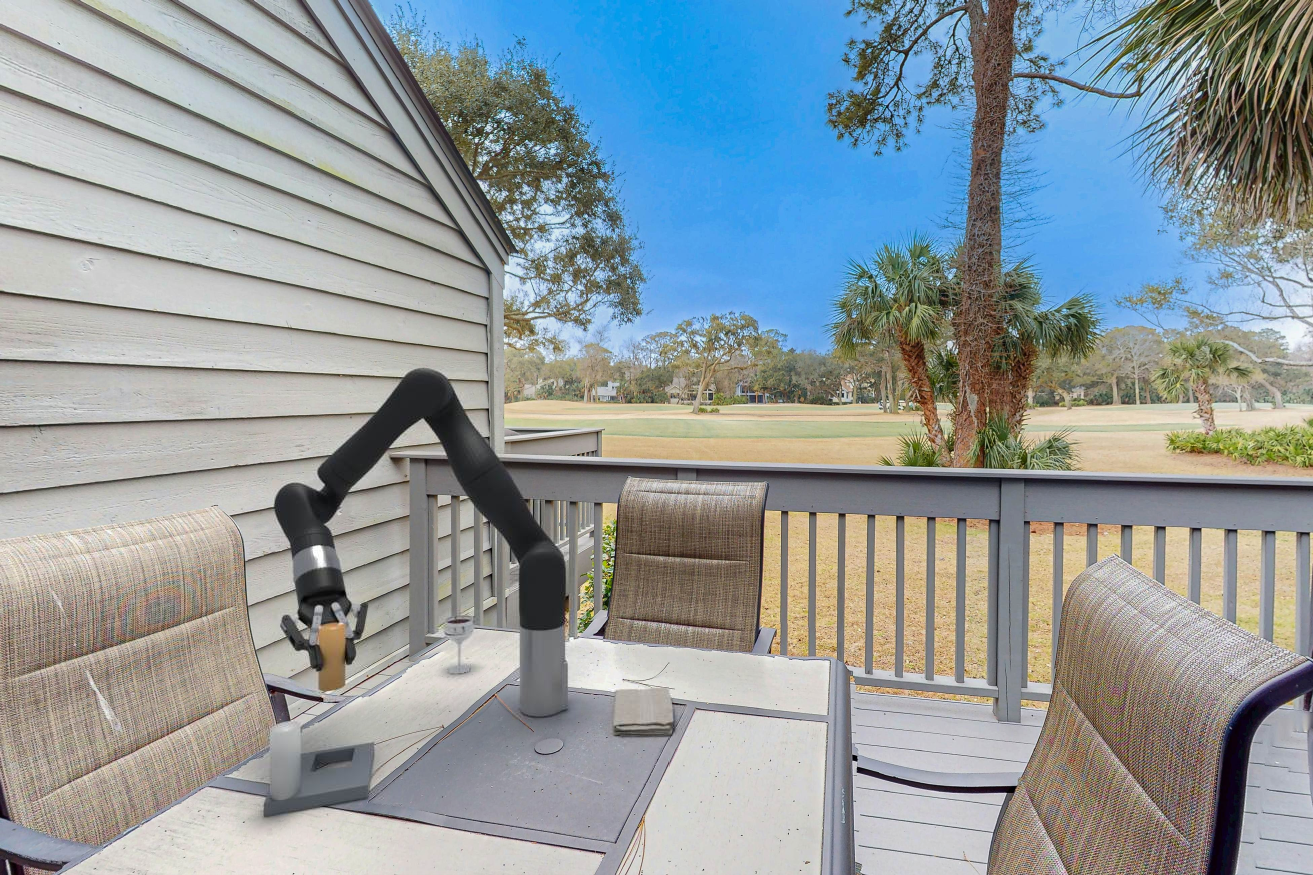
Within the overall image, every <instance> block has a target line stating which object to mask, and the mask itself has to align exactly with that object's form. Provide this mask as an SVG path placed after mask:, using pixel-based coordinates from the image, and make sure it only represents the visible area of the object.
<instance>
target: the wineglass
mask: <svg viewBox="0 0 1313 875" xmlns="http://www.w3.org/2000/svg"><path fill="white" fill-rule="evenodd" d="M473 621H474V617H473V616H472V615H468V614H466V615H464V614H463V615H461V614H460V615H452V616H450V617H447V618H445V619H444V623H445V625H444V628H443V632H444V635H445V637H446V638H447V639H448V640H450V641H451V642H454V643H455V644H456V645H457V660H458V662H457V663H458V667H457V666H454V667H452V669H451V668H450V669H448V671H449V672H450V673H455V674H454V675H460V674H459V673H463V674H465V673H464V672H466V673H468V672H469V671H468V670H469V668H470V667H469V666H467V667H465V665H461V657H462V656H461V655H462V653H461V652H462V643H464V641H467V640H468V639H469V638H470V637H471V636H472V635H473V633H474V630H475V624H474V623H473ZM468 667H469V668H468ZM467 671H468V672H467ZM449 672H448V673H449ZM450 673H449V674H450ZM457 673H458V674H457Z"/></svg>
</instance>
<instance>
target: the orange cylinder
mask: <svg viewBox="0 0 1313 875" xmlns="http://www.w3.org/2000/svg"><path fill="white" fill-rule="evenodd" d="M318 645H319V646H320V651H321V656H322V662H323V667H322V670H321V671H318V678H317V679H318V685H317V686H318V690H319V691H322V692H332V691H336V690H340V689H342V688H344V687H345V686H346V661H345V655H346V624H344V623H329V624H325V625H322V626H320V627H319V636H318Z"/></svg>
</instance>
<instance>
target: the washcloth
mask: <svg viewBox="0 0 1313 875" xmlns="http://www.w3.org/2000/svg"><path fill="white" fill-rule="evenodd" d="M613 696H614V698H613V700H614V701H613V703H614V704H613V716H612V717H613V718H612V722H611V723H612V730H613V731H612V735H613V737H615V736H620V737H627V738H628V737H629V738H630V737H635V738H636V737H663V736H664V737H666V736H671V735H672V734H673V726H674V725H673V723H674V721H675V720H674V707H673V703H672V698H671V693H670V688H669V687H651V688H642V689H638V688H636V689H635V688H633V689H632V688H625V689H616V690H615V691H614V695H613Z"/></svg>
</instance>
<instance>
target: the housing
mask: <svg viewBox="0 0 1313 875" xmlns="http://www.w3.org/2000/svg"><path fill="white" fill-rule="evenodd" d="M301 750H302V749H301V722H299V721H295V720H289V721H283V722H281V723H277V724H275V725H273V726H271V728H270V729H269V776H270V777H269V783H270V784H269V789H268V791H267V794H266V796H265V800H264V802H263V818H265V817H270V816H276V815H281V814H282V815H283V814H286V813H293V812H297V811H302V810H303V811H304V810H307V809H313V808H319V807H323V806H330V805H336V804H341V803H348V802H353V801H357V800H362V799H368V798H369V792H370V786H371V779H372V772H373V766H374V765H373V764H374V758H375V742H374V741H372V742H367V743H360V744H354V745H348V746H341V747H335V748H329V749H328V748H327V749H321V750H314V751H309V752H308V751H307V752H302V751H301ZM301 752H302V753H301ZM347 761H351V764H350V765H345V766H340V767H334V768H328V769H323V770H316V766H322V765H327V764H333V763H334V764H335V763H339V762H347Z"/></svg>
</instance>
